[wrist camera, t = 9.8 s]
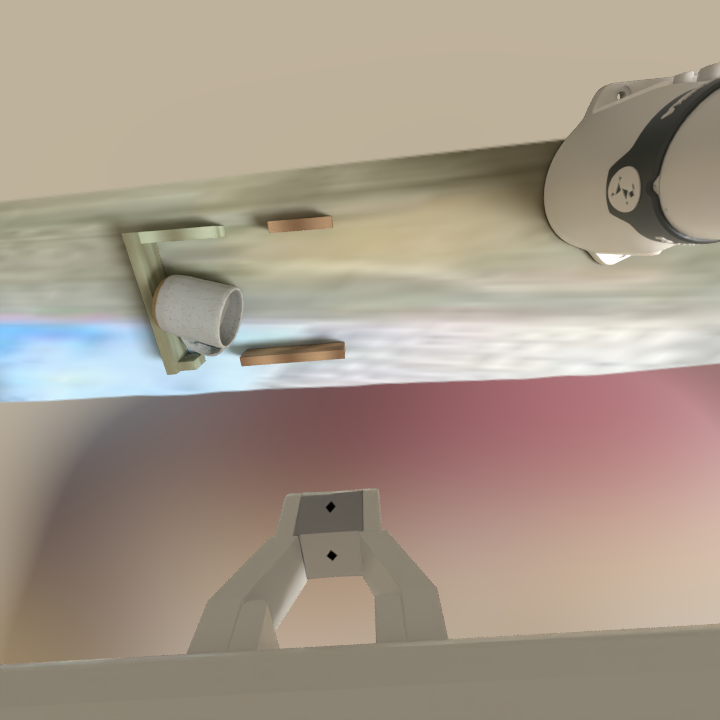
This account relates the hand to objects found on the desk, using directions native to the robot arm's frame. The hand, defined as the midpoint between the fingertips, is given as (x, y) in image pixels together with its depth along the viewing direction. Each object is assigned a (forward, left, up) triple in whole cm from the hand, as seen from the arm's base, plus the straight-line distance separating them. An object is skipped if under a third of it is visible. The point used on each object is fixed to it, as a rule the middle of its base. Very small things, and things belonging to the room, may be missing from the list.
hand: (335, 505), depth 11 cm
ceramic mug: (+18, -3, -35) cm, 40 cm away
